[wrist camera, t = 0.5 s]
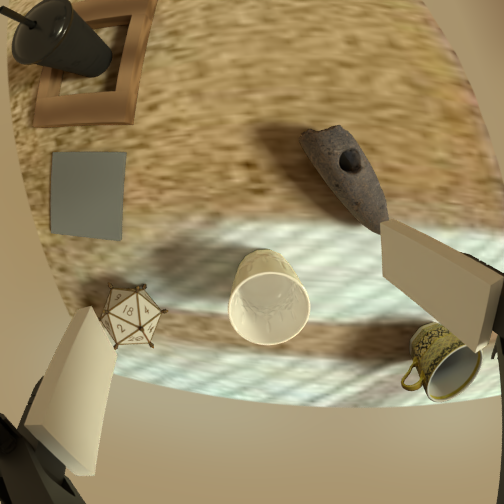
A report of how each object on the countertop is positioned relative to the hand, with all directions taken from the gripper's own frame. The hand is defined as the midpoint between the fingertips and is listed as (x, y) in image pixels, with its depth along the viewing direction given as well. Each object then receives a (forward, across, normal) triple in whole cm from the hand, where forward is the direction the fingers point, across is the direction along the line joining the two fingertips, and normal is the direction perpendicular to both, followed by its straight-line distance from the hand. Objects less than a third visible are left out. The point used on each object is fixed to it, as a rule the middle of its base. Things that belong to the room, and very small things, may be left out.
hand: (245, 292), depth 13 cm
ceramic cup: (+18, +25, -29) cm, 42 cm away
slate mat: (+28, -16, +4) cm, 32 cm away
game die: (+26, -13, -12) cm, 32 cm away
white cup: (+24, +4, -12) cm, 27 cm away
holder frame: (+29, -10, +21) cm, 38 cm away
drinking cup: (+30, -10, +21) cm, 38 cm away
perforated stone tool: (+23, +16, -2) cm, 28 cm away
